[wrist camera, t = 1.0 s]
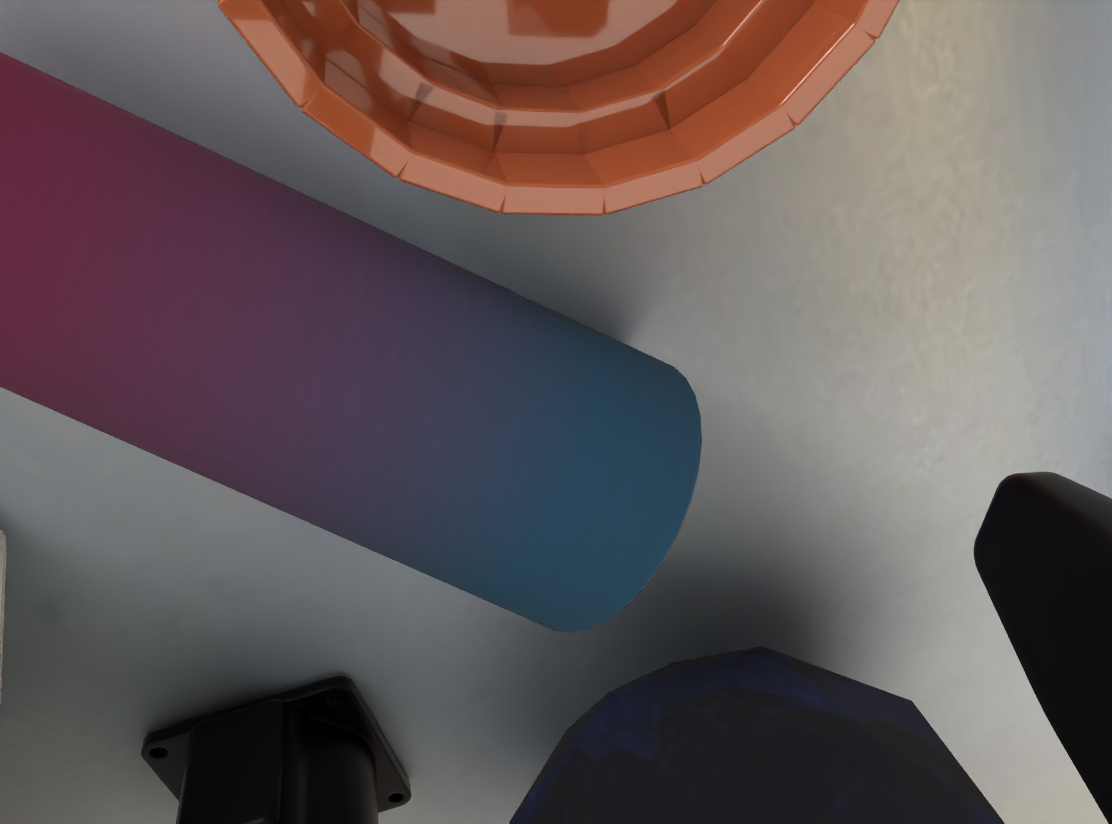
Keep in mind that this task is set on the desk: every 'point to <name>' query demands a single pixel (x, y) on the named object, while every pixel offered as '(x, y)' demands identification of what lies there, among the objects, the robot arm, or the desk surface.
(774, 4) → the bowl
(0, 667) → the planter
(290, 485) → the cup
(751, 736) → the decorative orb
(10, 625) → the desk surface
